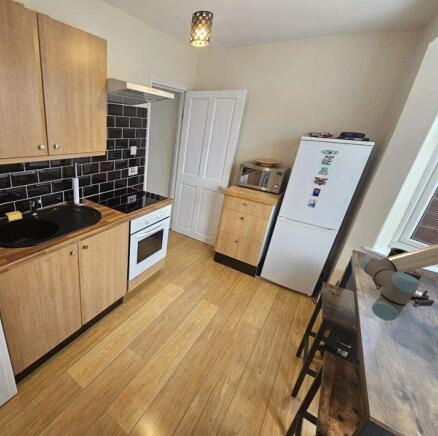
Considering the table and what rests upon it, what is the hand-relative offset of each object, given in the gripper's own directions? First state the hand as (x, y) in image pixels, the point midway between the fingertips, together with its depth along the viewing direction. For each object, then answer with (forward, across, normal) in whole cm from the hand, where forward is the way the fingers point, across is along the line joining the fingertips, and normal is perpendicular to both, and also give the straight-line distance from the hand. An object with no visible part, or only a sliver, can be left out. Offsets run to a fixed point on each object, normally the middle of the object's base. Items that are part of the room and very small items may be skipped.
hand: (404, 284), depth 111 cm
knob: (+8, 0, -6) cm, 10 cm away
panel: (+8, 0, -9) cm, 12 cm away
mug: (+38, -9, -9) cm, 40 cm away
